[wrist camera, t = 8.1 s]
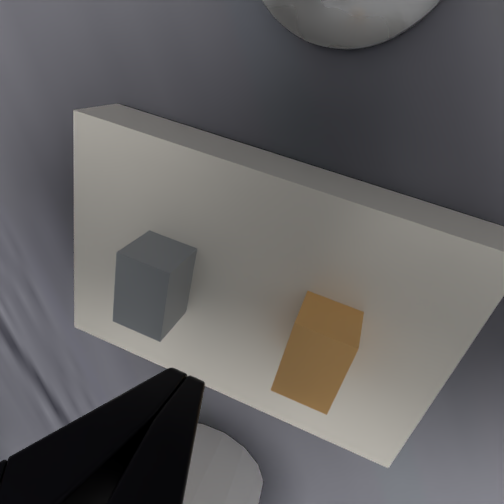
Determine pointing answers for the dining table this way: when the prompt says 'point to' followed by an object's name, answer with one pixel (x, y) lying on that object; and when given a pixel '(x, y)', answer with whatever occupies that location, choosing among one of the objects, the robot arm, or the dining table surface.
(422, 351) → the panel
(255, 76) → the dining table surface
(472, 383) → the dining table surface
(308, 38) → the post
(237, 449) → the grey cylinder
